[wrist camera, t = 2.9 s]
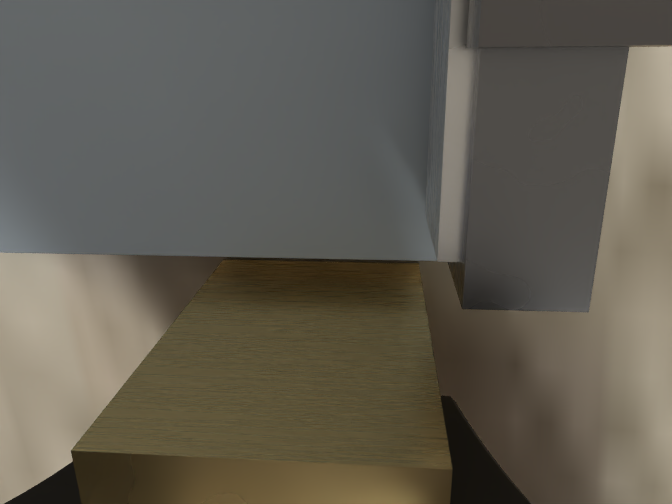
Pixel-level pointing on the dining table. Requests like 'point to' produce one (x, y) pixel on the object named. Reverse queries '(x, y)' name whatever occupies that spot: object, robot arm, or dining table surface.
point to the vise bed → (216, 128)
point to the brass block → (280, 395)
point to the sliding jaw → (527, 142)
